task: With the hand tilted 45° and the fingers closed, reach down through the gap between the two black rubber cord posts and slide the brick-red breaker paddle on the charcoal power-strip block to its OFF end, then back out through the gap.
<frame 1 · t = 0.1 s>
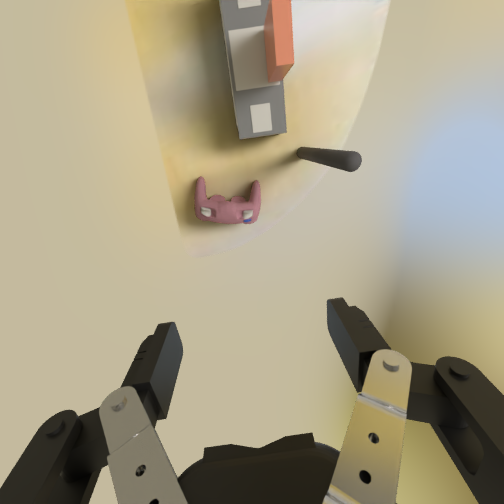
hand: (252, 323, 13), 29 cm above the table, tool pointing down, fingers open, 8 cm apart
breaker block: (252, 70, 33), on the table
video game controller: (228, 196, 40), on the table
cord posts: (298, 63, 33), on the table
breaker paddle: (277, 43, 25), point 9 cm above the table, slide at 0.0 cm
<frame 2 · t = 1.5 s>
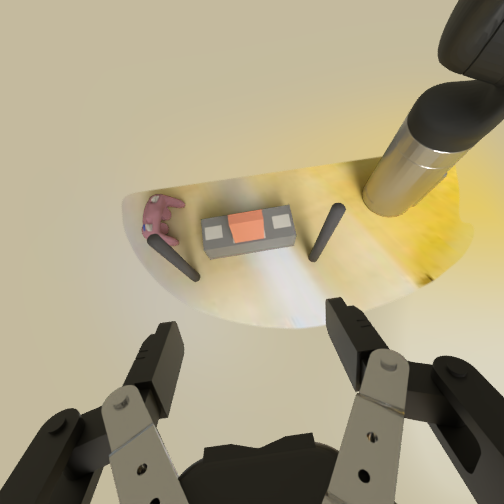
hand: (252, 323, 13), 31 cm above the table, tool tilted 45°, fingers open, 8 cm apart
breaker block: (249, 238, 48), on the table
video game controller: (169, 225, 51), on the table
cord posts: (254, 267, 46), on the table
breaker paddle: (247, 227, 39), point 9 cm above the table, slide at 0.0 cm
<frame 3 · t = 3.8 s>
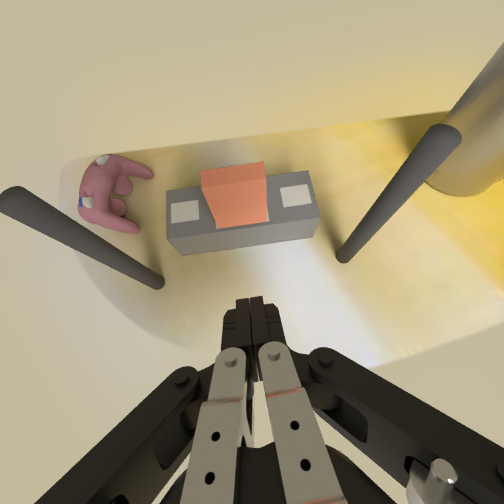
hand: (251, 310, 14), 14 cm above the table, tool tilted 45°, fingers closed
breaker block: (244, 224, 32), on the table
video game controller: (129, 203, 34), on the table
cord posts: (250, 270, 29), on the table
breaker paddle: (237, 199, 22), point 9 cm above the table, slide at 0.0 cm
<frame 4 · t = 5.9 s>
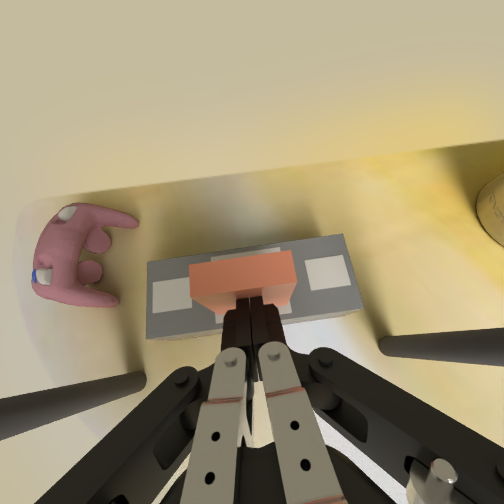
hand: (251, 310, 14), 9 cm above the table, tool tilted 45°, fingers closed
breaker block: (253, 295, 24), on the table
video game controller: (107, 261, 26), on the table
cord posts: (262, 364, 22), on the table
breaker paddle: (247, 288, 15), point 9 cm above the table, slide at 0.8 cm, touching gripper
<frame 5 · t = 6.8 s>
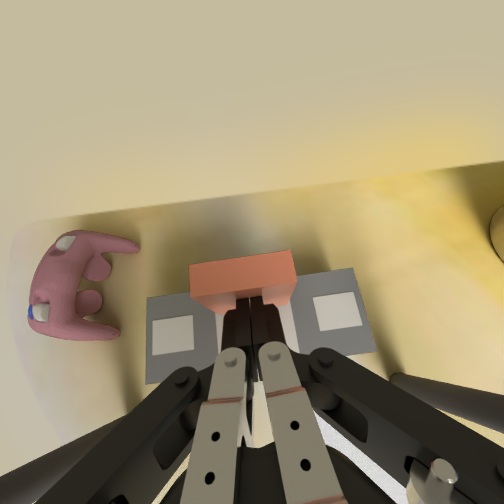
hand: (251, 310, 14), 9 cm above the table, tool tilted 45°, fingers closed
breaker block: (257, 327, 23), on the table
video game controller: (107, 289, 25), on the table
cord posts: (267, 402, 21), on the table
breaker paddle: (247, 288, 15), point 9 cm above the table, slide at 3.7 cm, touching gripper
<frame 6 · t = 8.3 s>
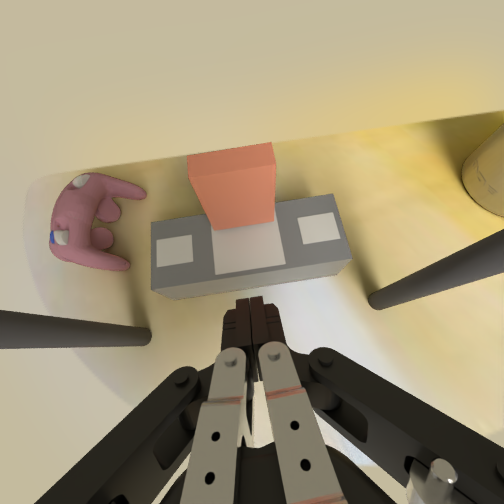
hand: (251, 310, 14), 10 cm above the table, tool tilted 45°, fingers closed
breaker block: (250, 258, 25), on the table
video game controller: (117, 231, 28), on the table
cord posts: (259, 319, 23), on the table
breaker paddle: (237, 194, 18), point 9 cm above the table, slide at 3.8 cm
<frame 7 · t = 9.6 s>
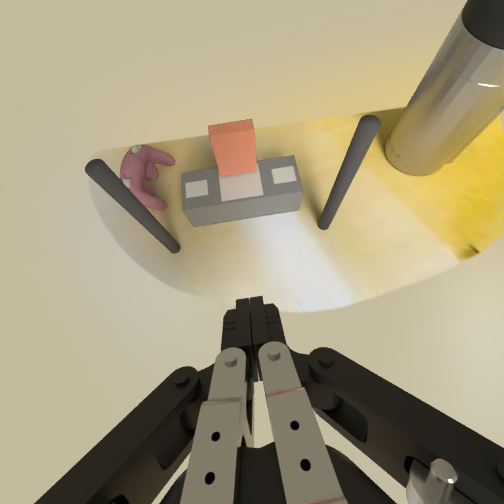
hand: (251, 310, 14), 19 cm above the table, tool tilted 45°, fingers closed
breaker block: (243, 201, 39), on the table
video game controller: (156, 186, 41), on the table
cord posts: (249, 236, 37), on the table
breaker paddle: (234, 150, 31), point 9 cm above the table, slide at 3.8 cm
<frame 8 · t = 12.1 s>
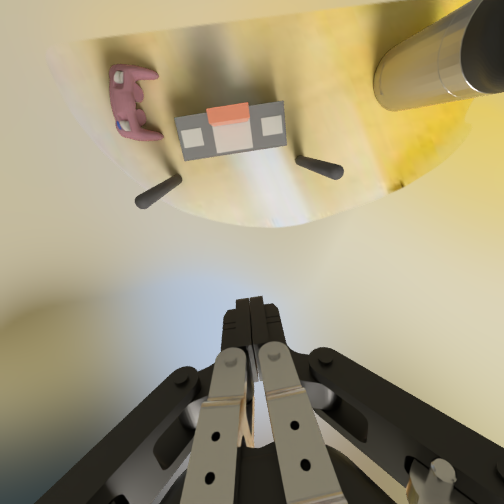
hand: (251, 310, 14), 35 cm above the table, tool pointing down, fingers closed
breaker block: (232, 132, 42), on the table
video game controller: (144, 107, 40), on the table
cord posts: (238, 169, 44), on the table
breaker paddle: (229, 115, 33), point 9 cm above the table, slide at 3.8 cm
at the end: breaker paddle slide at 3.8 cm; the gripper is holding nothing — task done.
